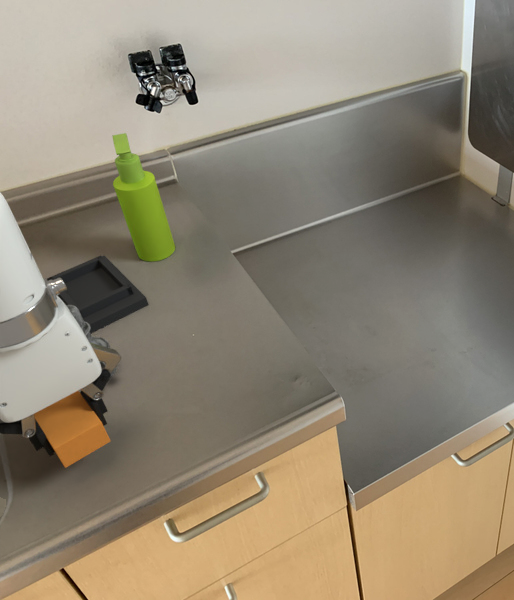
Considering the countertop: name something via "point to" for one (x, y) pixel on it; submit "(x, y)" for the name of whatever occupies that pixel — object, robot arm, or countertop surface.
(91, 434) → the orange block
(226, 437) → the countertop surface
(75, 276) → the black tray
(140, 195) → the soap dispenser
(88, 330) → the grey chess piece
